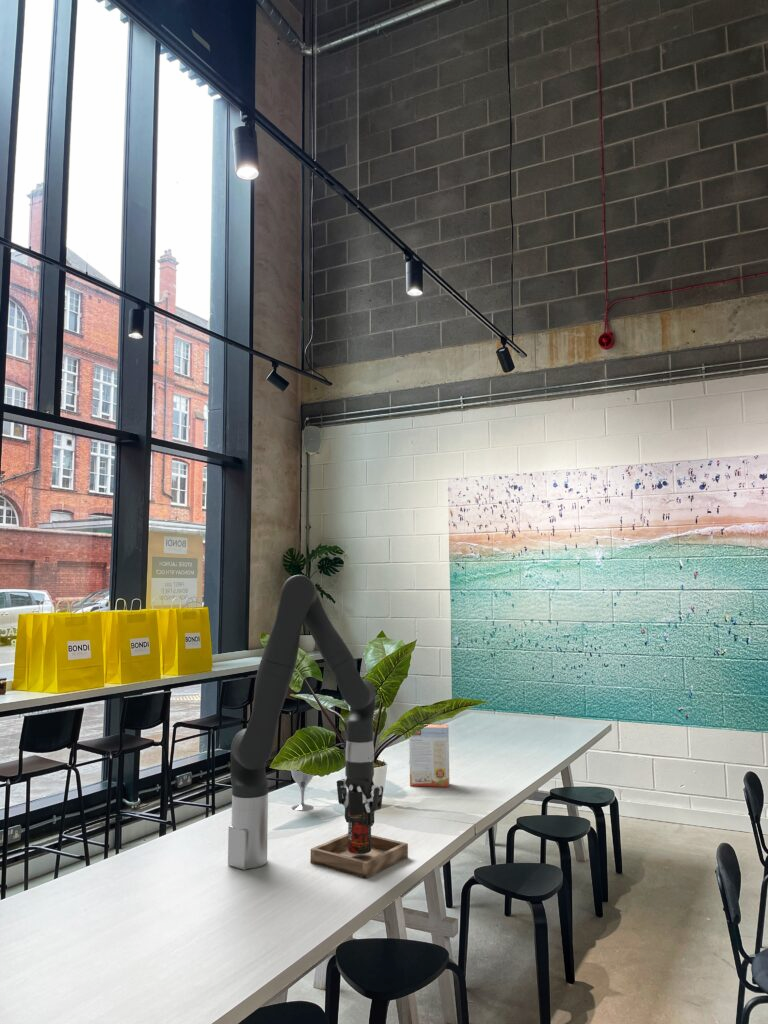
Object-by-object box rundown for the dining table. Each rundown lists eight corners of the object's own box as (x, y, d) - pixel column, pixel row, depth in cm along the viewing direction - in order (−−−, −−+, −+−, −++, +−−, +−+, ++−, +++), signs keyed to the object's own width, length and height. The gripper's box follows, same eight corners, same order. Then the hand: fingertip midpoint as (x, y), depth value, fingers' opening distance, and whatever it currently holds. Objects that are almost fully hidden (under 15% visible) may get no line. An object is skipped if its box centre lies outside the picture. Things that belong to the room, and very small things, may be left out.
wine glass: (285, 807, 243) (285, 759, 244) (304, 802, 248) (304, 755, 250) (300, 812, 237) (301, 763, 239) (320, 807, 243) (320, 759, 244)
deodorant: (343, 850, 195) (343, 791, 197) (358, 844, 200) (358, 786, 201) (361, 855, 192) (361, 794, 193) (375, 849, 196) (375, 790, 198)
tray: (366, 878, 183) (366, 863, 183) (310, 863, 193) (310, 848, 194) (407, 857, 197) (407, 843, 198) (353, 844, 208) (353, 830, 208)
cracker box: (449, 783, 273) (449, 724, 275) (448, 787, 267) (448, 727, 269) (411, 782, 275) (410, 723, 277) (409, 786, 269) (409, 726, 271)
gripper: (329, 756, 199) (329, 822, 197) (373, 764, 191) (373, 833, 189) (347, 752, 205) (346, 816, 204) (390, 758, 197) (390, 825, 195)
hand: (359, 823), depth 196 cm, fingers closed on deodorant, 6 cm apart
